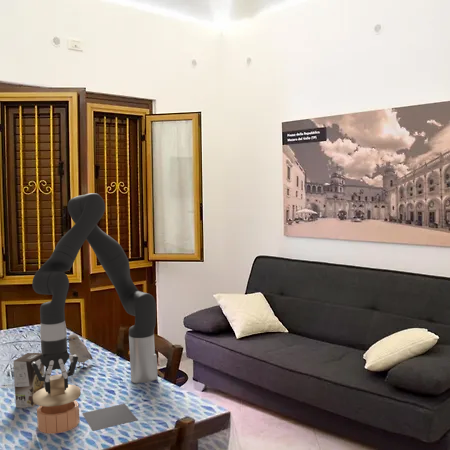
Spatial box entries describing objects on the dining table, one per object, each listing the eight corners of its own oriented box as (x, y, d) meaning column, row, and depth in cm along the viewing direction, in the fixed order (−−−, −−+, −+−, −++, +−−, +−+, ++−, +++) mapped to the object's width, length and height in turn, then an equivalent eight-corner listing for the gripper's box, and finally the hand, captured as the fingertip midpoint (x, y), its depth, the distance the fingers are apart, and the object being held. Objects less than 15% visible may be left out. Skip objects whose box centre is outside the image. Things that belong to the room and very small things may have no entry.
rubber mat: (124, 405, 178) (124, 403, 178) (137, 421, 165) (137, 419, 165) (82, 414, 171) (82, 413, 171) (92, 432, 159) (92, 430, 159)
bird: (63, 372, 210) (61, 335, 209) (88, 362, 221) (86, 326, 220) (71, 374, 207) (69, 337, 206) (97, 364, 219) (95, 328, 217)
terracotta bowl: (74, 413, 172) (73, 396, 172) (82, 428, 161) (81, 409, 161) (35, 422, 167) (34, 404, 166) (41, 438, 156) (40, 418, 156)
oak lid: (75, 384, 173) (74, 366, 172) (85, 400, 160) (84, 380, 160) (29, 393, 166) (28, 374, 166) (36, 410, 154) (35, 389, 153)
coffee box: (32, 408, 177) (29, 361, 176) (15, 407, 178) (12, 360, 177) (47, 397, 186) (44, 352, 185) (30, 396, 187) (27, 351, 186)
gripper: (74, 329, 168) (77, 382, 170) (27, 336, 162) (30, 391, 163) (80, 335, 162) (82, 390, 163) (30, 343, 155) (33, 400, 157)
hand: (56, 390), depth 163 cm, fingers closed on oak lid, 4 cm apart
